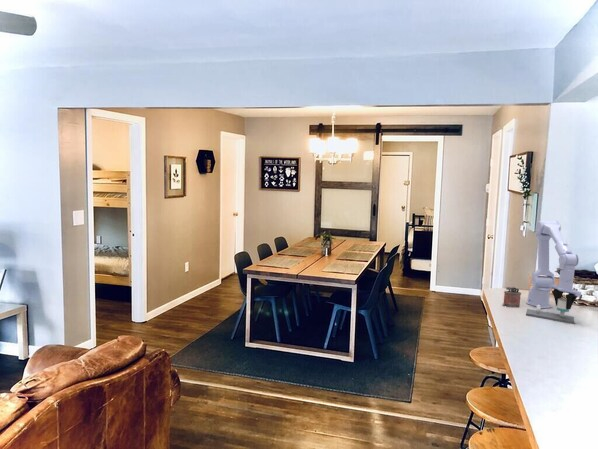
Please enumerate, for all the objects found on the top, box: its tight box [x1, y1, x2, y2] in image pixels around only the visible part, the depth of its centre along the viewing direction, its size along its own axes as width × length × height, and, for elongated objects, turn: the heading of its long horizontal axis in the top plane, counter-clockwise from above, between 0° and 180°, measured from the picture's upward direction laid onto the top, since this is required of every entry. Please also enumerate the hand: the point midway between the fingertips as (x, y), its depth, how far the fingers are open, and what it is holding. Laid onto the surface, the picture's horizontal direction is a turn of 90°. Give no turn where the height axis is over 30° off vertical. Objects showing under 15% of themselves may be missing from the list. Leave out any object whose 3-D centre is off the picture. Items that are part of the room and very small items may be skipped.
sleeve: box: [556, 298, 570, 313], centre depth 219 cm, size 5×5×5 cm
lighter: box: [502, 286, 522, 308], centre depth 237 cm, size 8×3×10 cm, turn 84°
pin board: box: [525, 305, 575, 324], centre depth 222 cm, size 20×9×5 cm, turn 60°
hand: (563, 307), depth 219 cm, fingers closed on sleeve, 5 cm apart
